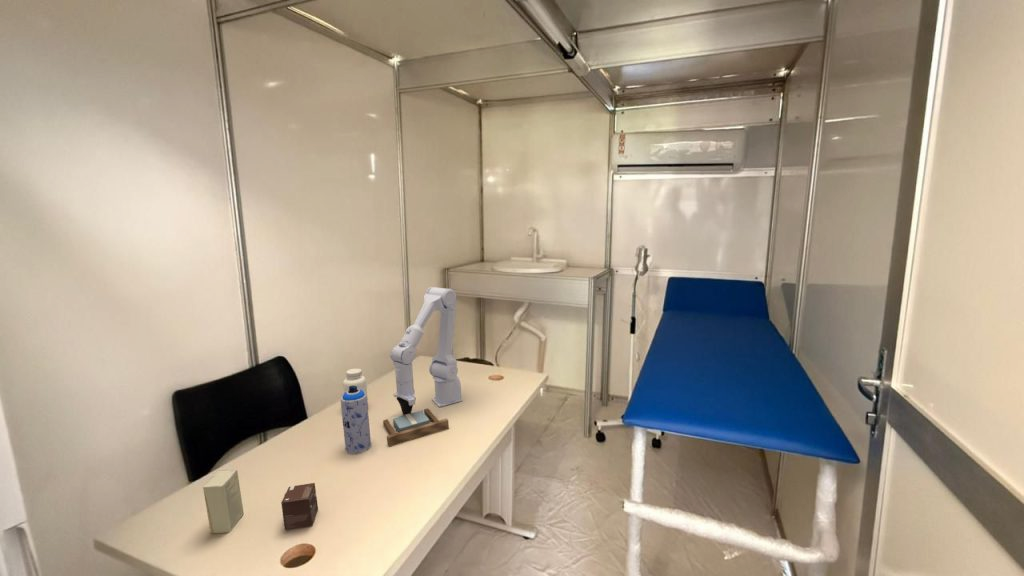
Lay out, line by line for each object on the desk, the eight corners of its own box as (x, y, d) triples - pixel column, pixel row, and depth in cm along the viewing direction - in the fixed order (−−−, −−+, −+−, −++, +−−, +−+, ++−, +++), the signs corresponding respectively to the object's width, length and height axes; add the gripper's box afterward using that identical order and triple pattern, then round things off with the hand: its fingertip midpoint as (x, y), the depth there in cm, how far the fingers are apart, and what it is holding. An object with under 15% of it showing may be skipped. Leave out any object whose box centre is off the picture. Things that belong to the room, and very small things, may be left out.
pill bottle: (372, 404, 158) (368, 367, 155) (362, 414, 150) (358, 375, 147) (351, 403, 159) (348, 366, 156) (341, 414, 151) (337, 374, 148)
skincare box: (225, 515, 101) (218, 469, 99) (245, 513, 101) (238, 468, 99) (209, 534, 95) (201, 487, 93) (230, 533, 95) (222, 485, 93)
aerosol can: (340, 447, 129) (334, 387, 125) (364, 437, 135) (358, 379, 131) (352, 457, 124) (346, 394, 120) (376, 446, 129) (371, 386, 126)
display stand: (433, 411, 151) (433, 404, 150) (448, 428, 139) (448, 420, 139) (377, 427, 141) (376, 419, 140) (388, 446, 129) (388, 437, 128)
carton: (422, 419, 146) (421, 410, 146) (430, 429, 140) (429, 419, 139) (393, 427, 141) (392, 417, 141) (400, 438, 135) (399, 428, 134)
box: (312, 526, 97) (309, 498, 95) (284, 531, 95) (280, 502, 94) (318, 508, 102) (315, 482, 101) (292, 512, 101) (288, 485, 100)
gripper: (387, 375, 146) (389, 411, 149) (399, 389, 134) (402, 428, 136) (406, 371, 150) (409, 406, 152) (420, 384, 138) (422, 422, 140)
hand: (407, 416), depth 145 cm, fingers closed
